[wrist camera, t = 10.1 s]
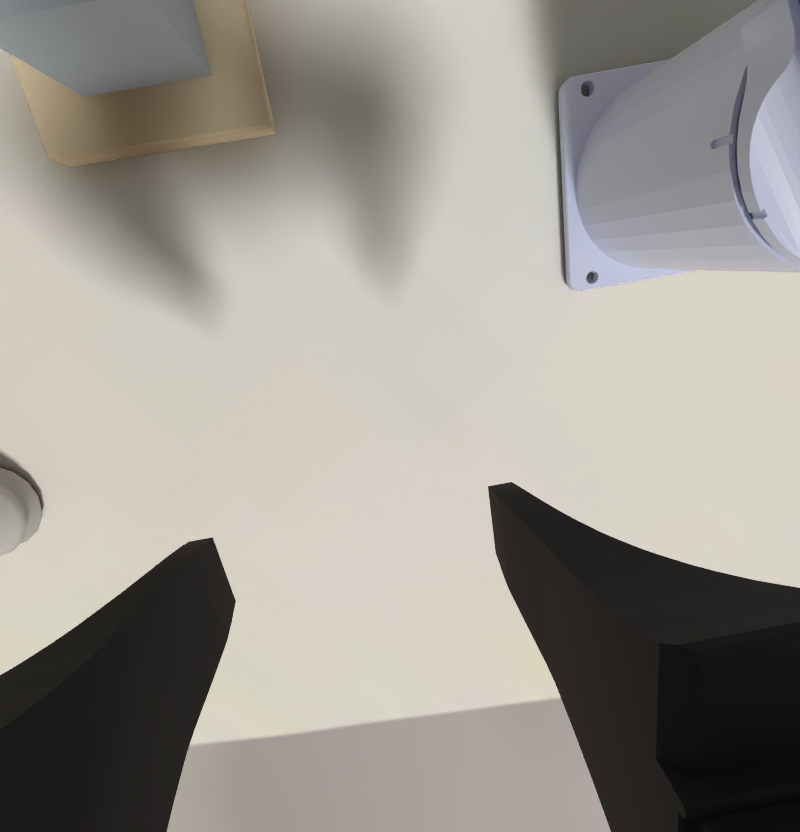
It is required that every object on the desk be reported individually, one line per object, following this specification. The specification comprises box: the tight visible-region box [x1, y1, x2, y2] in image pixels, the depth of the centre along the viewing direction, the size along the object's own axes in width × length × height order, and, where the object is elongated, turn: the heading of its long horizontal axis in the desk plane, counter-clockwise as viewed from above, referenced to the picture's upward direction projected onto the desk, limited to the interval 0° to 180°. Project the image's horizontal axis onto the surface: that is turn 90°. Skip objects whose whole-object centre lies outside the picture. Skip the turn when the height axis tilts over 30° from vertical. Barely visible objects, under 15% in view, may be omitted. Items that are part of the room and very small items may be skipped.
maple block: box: [9, 0, 276, 167], centre depth 16 cm, size 8×8×2 cm
